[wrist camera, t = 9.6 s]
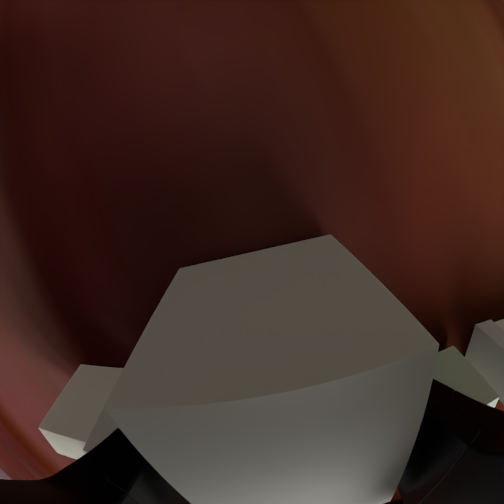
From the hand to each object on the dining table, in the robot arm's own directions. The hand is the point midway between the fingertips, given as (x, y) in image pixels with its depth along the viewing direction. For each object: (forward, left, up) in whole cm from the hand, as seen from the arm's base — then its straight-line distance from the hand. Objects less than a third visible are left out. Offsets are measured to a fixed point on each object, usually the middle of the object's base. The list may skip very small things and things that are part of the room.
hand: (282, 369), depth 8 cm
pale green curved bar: (-2, -2, -1) cm, 3 cm away
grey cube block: (0, 0, -1) cm, 1 cm away
